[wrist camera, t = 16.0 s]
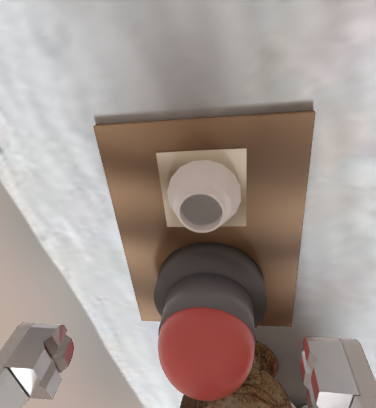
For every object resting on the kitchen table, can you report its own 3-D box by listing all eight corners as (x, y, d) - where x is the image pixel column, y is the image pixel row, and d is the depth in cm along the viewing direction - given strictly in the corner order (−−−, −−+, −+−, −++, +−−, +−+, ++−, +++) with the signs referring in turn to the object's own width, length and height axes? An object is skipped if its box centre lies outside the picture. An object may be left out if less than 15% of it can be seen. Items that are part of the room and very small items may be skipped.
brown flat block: (96, 124, 20) (79, 135, 18) (313, 110, 18) (325, 121, 16) (142, 316, 29) (135, 339, 27) (290, 322, 27) (295, 347, 25)
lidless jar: (220, 145, 19) (156, 176, 21) (219, 162, 17) (146, 196, 18) (251, 205, 21) (190, 230, 23) (254, 229, 19) (185, 254, 20)
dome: (160, 272, 22) (136, 355, 17) (253, 274, 21) (261, 362, 16) (171, 332, 26) (155, 418, 20) (252, 336, 25) (259, 427, 19)
